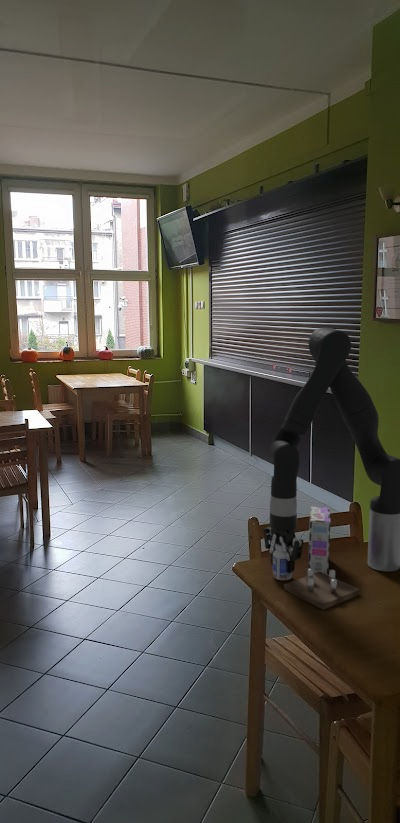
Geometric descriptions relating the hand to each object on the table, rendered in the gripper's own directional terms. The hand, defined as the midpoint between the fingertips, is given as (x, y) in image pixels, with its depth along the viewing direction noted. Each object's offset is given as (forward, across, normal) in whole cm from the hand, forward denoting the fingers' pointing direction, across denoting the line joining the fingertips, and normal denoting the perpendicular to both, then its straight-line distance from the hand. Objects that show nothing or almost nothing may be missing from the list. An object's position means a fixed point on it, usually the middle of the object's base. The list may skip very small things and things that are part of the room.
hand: (282, 568), depth 169 cm
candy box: (+3, -1, -14) cm, 14 cm away
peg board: (+3, -13, -2) cm, 13 cm away
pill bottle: (+3, 0, 0) cm, 3 cm away
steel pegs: (+1, -13, -2) cm, 13 cm away
